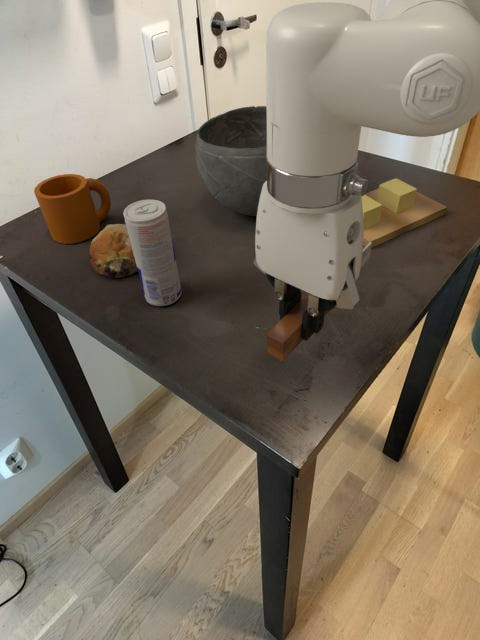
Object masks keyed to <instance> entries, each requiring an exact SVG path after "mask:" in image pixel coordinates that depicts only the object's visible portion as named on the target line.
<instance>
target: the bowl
mask: <svg viewBox="0 0 480 640" xmlns="http://www.w3.org/2000/svg"><path fill="white" fill-rule="evenodd" d="M194 159H195V165H196V168H197V171H198V175H199V178H200V180H201V182H202V184H203V186H204V187H205V189H206V190H207V191H208V193H209V194H210V195H211V196H212V197H213V198H214V199H215V200H216V201H217V202H219V203H220V204H221V205H222V206H224V207H225V208H227V209H228V210H230V211H232V212H233V213H236V214H239V215H243V216H248V217H249V216H250V217H257V211H258V205H259V199H260V195H261V191H262V187H263V184H264V183H265V182H266V181H267V105H257V106H255V105H252V106H251V105H250V106H243V107H237V108H235V109H231V110H228V111H225V112H224V113H220V114H218V115H216V116H213V117H211V118H210V119H208V120H207V121H205V122H203V124H202V125H201V126H199V128H198V129H197V134H196V138H195V142H194Z"/></svg>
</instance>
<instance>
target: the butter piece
mask: <svg viewBox="0 0 480 640" xmlns="http://www.w3.org/2000/svg"><path fill="white" fill-rule="evenodd" d="M361 199H362V207H363V223H364V230H365V229H367V228H369V227H371V226H374V225H376V224H378V223H380V217H381V211H382V206H383V205H382V204H380V203H378V202H377V201H375V200H373V199H371V198H370V197H368V196H366V195H364V196H361Z"/></svg>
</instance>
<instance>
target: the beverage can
mask: <svg viewBox="0 0 480 640" xmlns="http://www.w3.org/2000/svg"><path fill="white" fill-rule="evenodd" d="M122 213H123V218H124V224H125V225H126V227H127V231H128V234H129V238H130V242H131V246H132V250H133V254H134V258H135V261H136V265H137V269H138V271H137V273H138V276H139V280H140V285H141V288H142V292H143V296H144V299H145V301H146V302H147V303H148V304H150V305H152V306H155V307H164V306H169V305H172V304H174V303H175V302H177V301H178V300H179V299H180V298H181V296H182V293H183V291H182V285H181V280H180V274H179V269H178V263H177V259H176V252H175V248H174V241H173V236H172V232H171V231H172V230H171V224H170V221H169V220H170V219H169V215H168V211H167V205H166V204H165V203H164V202H163V201H160V200H157V199H141V200H138V201H135V202H132V203H130V204H128V205H127V206H126V207H125V208H124V210H123V211H122Z"/></svg>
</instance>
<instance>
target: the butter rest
mask: <svg viewBox="0 0 480 640" xmlns="http://www.w3.org/2000/svg"><path fill="white" fill-rule="evenodd" d="M378 189H379V190H378V196H377V202H378V203H380V204H382V205H383V206H384V207H385V208H387V209H389V210H391V211H392V212H394V213H396V214H398V213H400V212H402V211H405V210H407V209H409V208H412V207H413V205H414V201H415V196H416V192H418V188H416V187H415V186H412V185H410V184H408V183H406V182H404V181H402V180H401V179H399V178H397V177H395V178H393V179H390V180H387V181H385V182H382V183H380V184H379V185H378Z"/></svg>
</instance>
